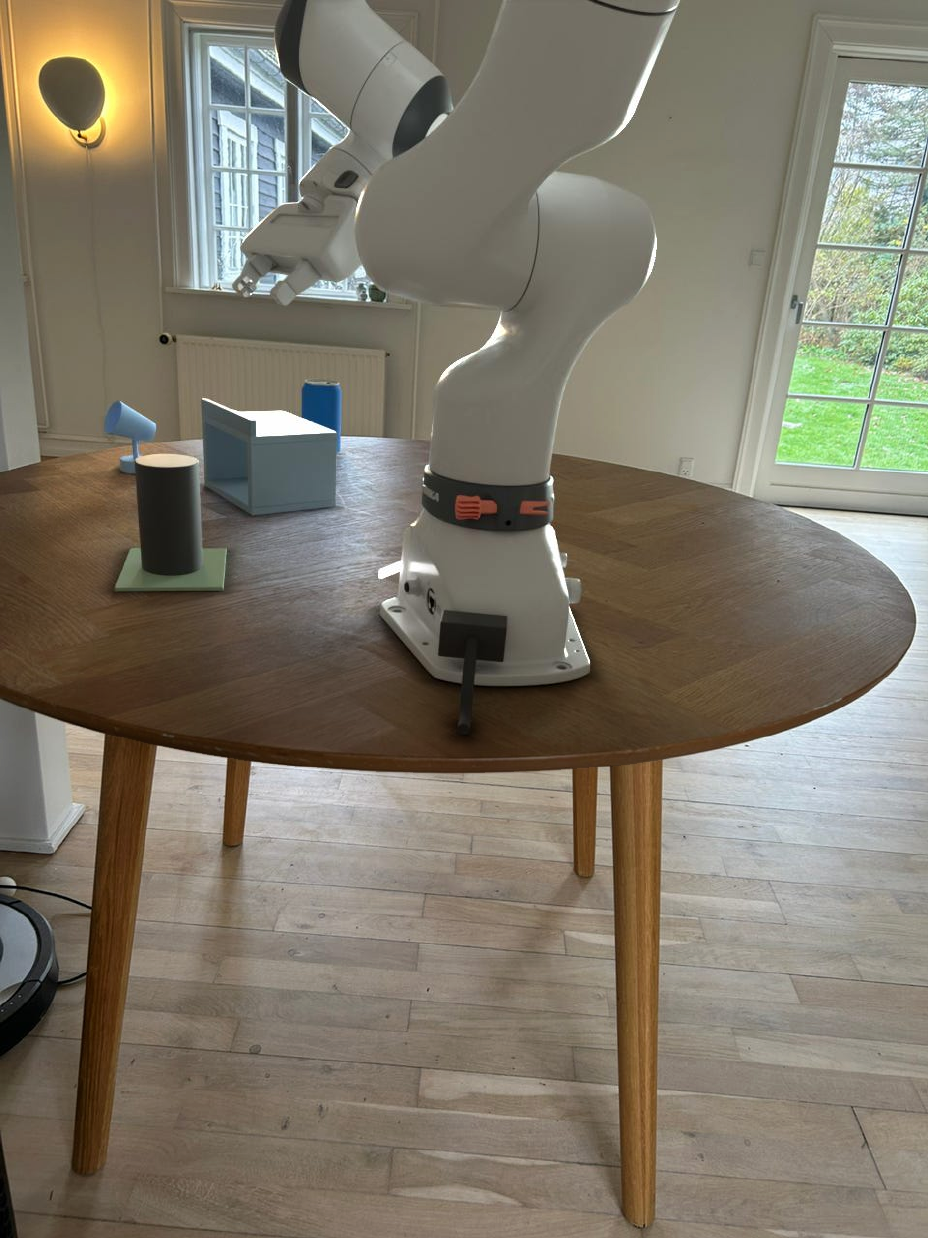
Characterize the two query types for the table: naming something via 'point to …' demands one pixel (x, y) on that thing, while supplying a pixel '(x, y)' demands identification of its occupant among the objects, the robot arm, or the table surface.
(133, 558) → the mat
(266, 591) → the table surface
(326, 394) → the beverage can
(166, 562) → the dark grey cylinder
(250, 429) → the shelf
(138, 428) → the spotlight
